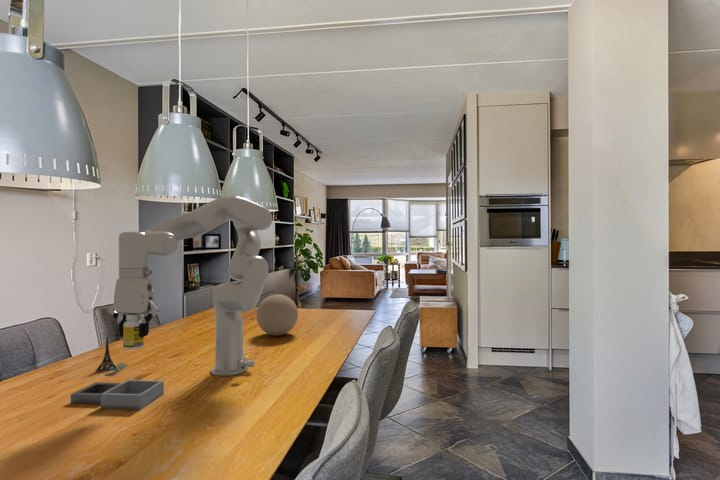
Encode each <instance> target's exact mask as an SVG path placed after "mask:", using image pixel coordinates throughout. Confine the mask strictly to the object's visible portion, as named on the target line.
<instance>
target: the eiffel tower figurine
mask: <svg viewBox="0 0 720 480" xmlns="http://www.w3.org/2000/svg"><path fill="white" fill-rule="evenodd" d="M105 339H106V342H105V350H104V357H103V359H102V360H101V362H100V364H99V366H98V367H97V368H96V369H95V371H97V372H99V373H100V374H103V373H105V374H104V377H108V376H114V375H115V374H117V373H119V372H121V371H122V370H123V369H125V368H126V367H128V366H129V364H127V365H125V364H126V363H118V364H119V365H117V366H115V365H114V364H113V363H114V361H113V360H112V358H111V354H110V349H109V346H110V345H109V336H106V337H105ZM112 371H113V372H112ZM107 372H108V373H107Z"/></svg>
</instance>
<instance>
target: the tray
mask: <svg viewBox="0 0 720 480" xmlns="http://www.w3.org/2000/svg"><path fill="white" fill-rule="evenodd" d="M120 383H121V384H119V385H117V386H115V387H113V388H111V389H109V390H108V391H106V392H101V393H102V394H101V404H100V409H104V410H105V409H107V410H108V409H109V410H132V411H133V410H135V411H141V410H142V409H143V410H144V408H145V407H147V406H148V405H150V404H151V403H153V402H154V401H156V400H158V399H159V398H160V397H162V396H163V395H164V394H165V390H164V389H165V388H164V387H165V386H164V384H165V381H164V380H147V379H145V380H144V379H141V380H140V379H127V380H125V381H123V382H120Z"/></svg>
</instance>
